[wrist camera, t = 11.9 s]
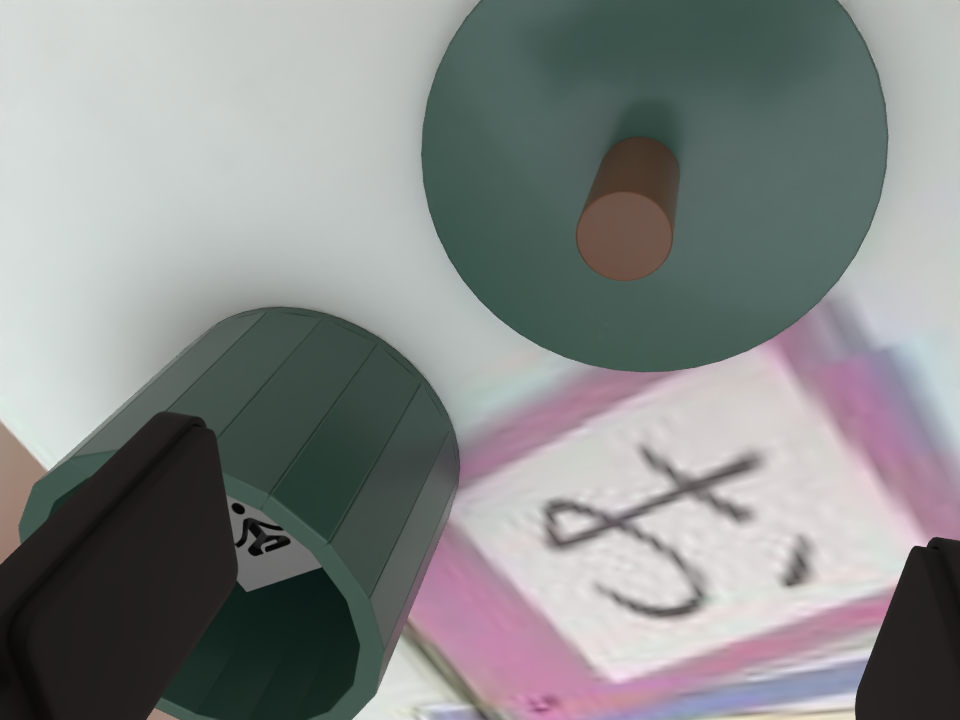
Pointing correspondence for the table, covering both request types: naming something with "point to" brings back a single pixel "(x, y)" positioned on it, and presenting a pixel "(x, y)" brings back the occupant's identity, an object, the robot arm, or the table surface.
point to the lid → (654, 170)
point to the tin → (298, 505)
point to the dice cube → (265, 548)
